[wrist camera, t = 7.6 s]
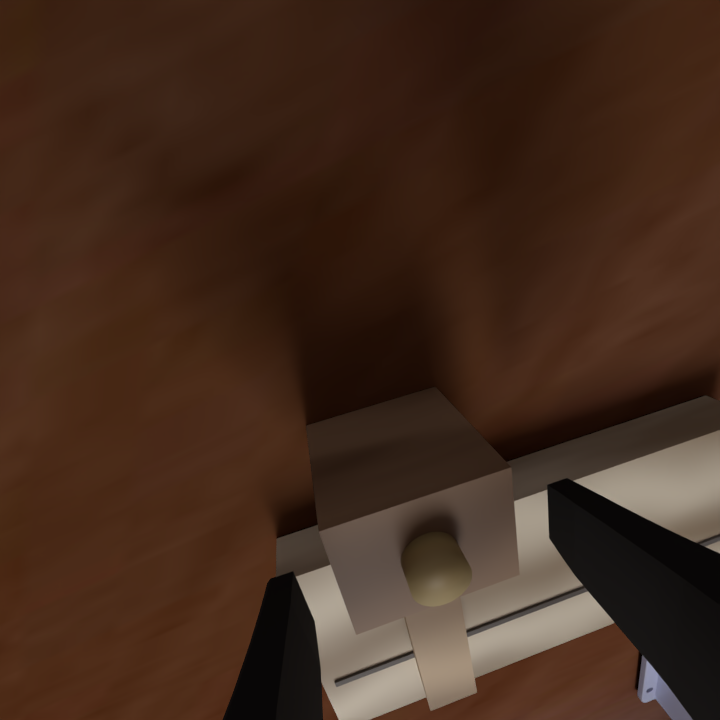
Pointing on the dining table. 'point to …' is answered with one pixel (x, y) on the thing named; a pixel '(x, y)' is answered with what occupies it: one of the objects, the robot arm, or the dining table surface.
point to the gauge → (414, 525)
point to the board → (524, 557)
